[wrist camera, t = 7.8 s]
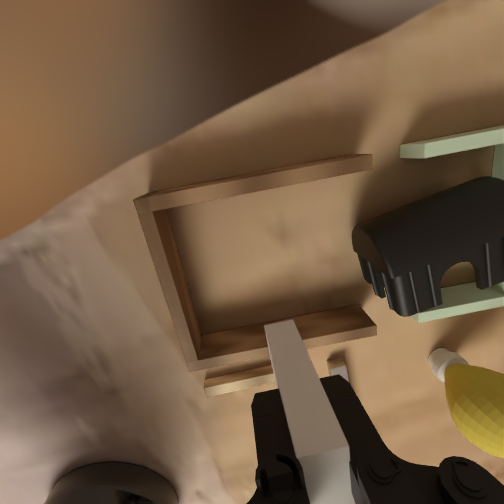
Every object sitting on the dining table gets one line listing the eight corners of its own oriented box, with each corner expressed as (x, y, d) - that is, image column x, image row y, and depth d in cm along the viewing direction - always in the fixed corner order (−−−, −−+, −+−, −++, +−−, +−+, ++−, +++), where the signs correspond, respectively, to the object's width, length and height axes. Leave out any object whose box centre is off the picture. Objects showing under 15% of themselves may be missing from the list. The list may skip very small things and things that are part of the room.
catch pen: (398, 305, 27) (418, 323, 24) (399, 144, 22) (424, 143, 19) (487, 288, 27) (517, 303, 24) (509, 124, 22) (550, 119, 19)
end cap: (453, 172, 23) (537, 178, 17) (462, 245, 26) (538, 276, 19) (340, 216, 24) (381, 239, 17) (359, 284, 26) (401, 326, 20)
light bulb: (423, 326, 28) (519, 412, 19) (480, 334, 29) (599, 420, 20) (399, 377, 30) (475, 478, 21) (452, 384, 31) (548, 483, 22)
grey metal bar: (325, 358, 29) (330, 369, 28) (340, 354, 29) (346, 365, 28) (339, 423, 33) (344, 436, 31) (352, 420, 32) (358, 433, 31)
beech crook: (208, 387, 29) (207, 397, 28) (195, 351, 27) (194, 360, 26) (300, 367, 29) (303, 376, 28) (294, 330, 27) (296, 338, 26)
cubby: (194, 345, 27) (189, 372, 24) (147, 193, 22) (133, 199, 19) (359, 313, 27) (376, 335, 24) (351, 154, 22) (372, 154, 19)
